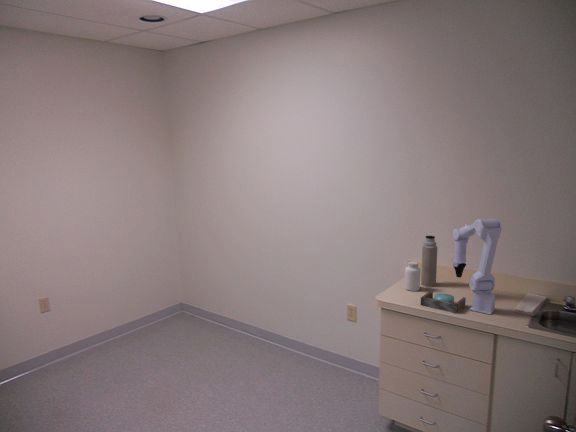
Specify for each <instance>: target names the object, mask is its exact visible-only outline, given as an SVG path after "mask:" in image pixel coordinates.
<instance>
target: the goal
mask: <svg viewBox="0 0 576 432" xmlns="http://www.w3.org/2000/svg"><path fill="white" fill-rule="evenodd" d="M466 302H467V300H466V297H462V298H460V300H458V301H457V302H456V303H454V304H453V303H449V302H444V301H439V300H435V298H434V291H432V290H430V291H428V292H426V293H425V294H424V295H422V296H420V306H422V307H426V308H427V307H428V308H431V309H435V310H440V311H444V312H449V313H453V314H458V313H459V312H460V311H461V310H462V309H463V308H465V306H466Z"/></svg>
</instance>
